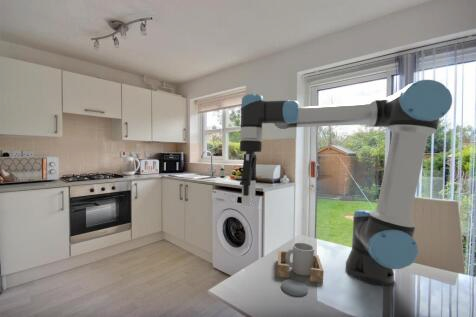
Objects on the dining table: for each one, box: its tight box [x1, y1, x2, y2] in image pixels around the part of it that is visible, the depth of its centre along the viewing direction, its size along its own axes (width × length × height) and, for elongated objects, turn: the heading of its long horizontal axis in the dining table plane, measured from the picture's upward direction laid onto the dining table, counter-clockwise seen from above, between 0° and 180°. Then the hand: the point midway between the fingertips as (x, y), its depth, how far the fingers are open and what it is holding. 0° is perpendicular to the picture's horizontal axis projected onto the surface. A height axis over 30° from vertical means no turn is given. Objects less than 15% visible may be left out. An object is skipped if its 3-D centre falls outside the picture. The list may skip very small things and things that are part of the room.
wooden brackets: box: [276, 250, 325, 284], centre depth 83 cm, size 15×12×4 cm
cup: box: [285, 242, 315, 277], centre depth 83 cm, size 7×10×9 cm
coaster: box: [281, 279, 309, 297], centre depth 72 cm, size 8×8×1 cm
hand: (248, 201), depth 80 cm, fingers open, 13 cm apart
